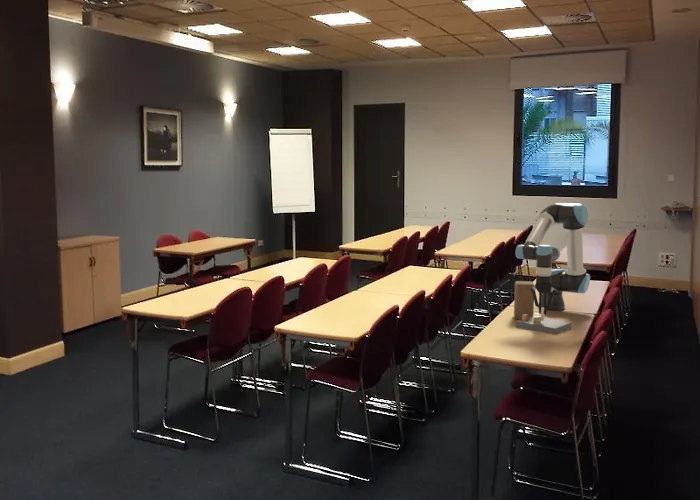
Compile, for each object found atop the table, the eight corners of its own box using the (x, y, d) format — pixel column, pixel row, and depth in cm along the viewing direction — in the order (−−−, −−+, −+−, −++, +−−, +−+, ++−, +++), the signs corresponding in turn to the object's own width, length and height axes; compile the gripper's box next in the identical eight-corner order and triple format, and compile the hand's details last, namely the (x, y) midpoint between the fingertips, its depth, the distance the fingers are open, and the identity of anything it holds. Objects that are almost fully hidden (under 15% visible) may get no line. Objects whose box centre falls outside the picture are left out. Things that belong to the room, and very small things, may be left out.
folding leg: (534, 317, 355) (534, 310, 354) (541, 317, 354) (541, 311, 353) (533, 324, 339) (533, 317, 338) (540, 324, 338) (540, 318, 337)
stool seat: (532, 321, 359) (533, 310, 359) (570, 328, 344) (571, 317, 343) (516, 326, 347) (516, 315, 346) (555, 334, 332) (555, 322, 331)
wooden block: (533, 320, 362) (534, 284, 359) (514, 319, 364) (515, 283, 361) (532, 316, 372) (533, 281, 369) (513, 315, 374) (515, 280, 371)
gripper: (557, 274, 339) (556, 319, 342) (531, 273, 344) (530, 317, 347) (555, 276, 332) (554, 322, 335) (529, 275, 337) (528, 320, 340)
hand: (542, 320), depth 341 cm, fingers closed
